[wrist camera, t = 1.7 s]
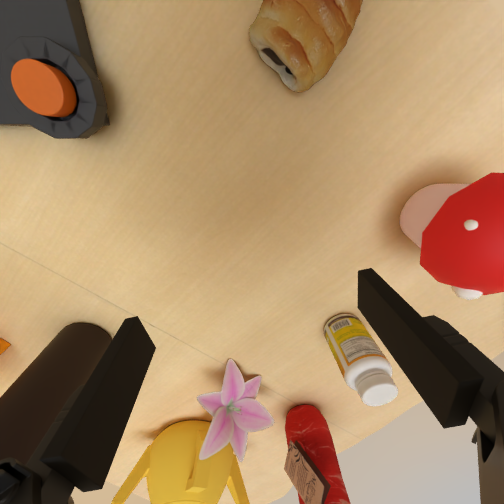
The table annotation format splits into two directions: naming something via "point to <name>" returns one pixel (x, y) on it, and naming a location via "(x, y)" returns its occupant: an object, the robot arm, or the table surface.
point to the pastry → (303, 37)
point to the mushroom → (460, 234)
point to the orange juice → (3, 345)
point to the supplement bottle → (360, 360)
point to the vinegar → (48, 388)
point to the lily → (233, 413)
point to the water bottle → (313, 458)
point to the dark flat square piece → (54, 54)
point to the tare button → (43, 88)
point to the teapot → (185, 469)
